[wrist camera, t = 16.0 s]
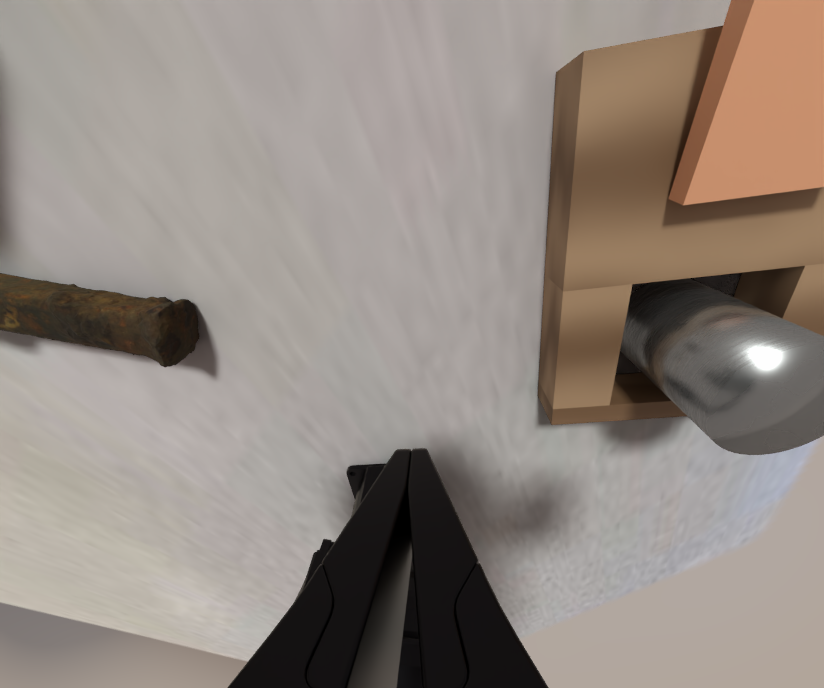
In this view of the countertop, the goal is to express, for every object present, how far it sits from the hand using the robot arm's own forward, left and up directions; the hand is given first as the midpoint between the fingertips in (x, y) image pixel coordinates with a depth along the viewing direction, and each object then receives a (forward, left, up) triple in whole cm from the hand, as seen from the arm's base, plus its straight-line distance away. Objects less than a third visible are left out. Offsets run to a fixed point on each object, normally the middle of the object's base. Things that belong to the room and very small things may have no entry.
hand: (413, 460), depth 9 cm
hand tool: (+2, +24, -13) cm, 27 cm away
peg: (-3, -14, -13) cm, 19 cm away
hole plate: (+1, -14, -13) cm, 19 cm away
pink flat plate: (+8, -14, -9) cm, 18 cm away
